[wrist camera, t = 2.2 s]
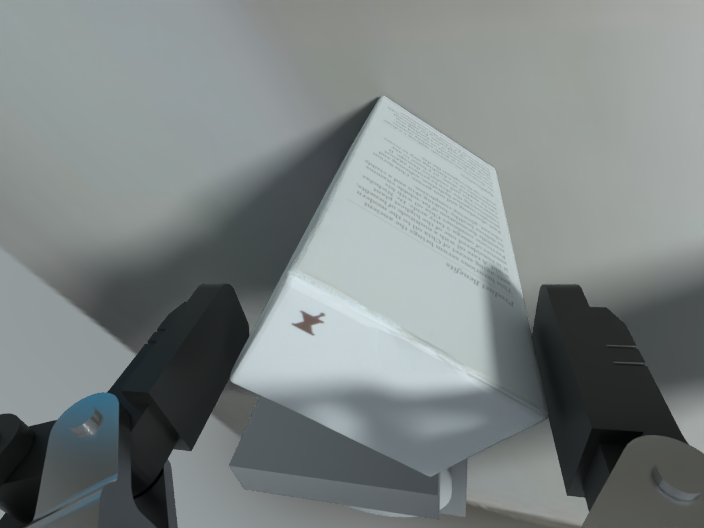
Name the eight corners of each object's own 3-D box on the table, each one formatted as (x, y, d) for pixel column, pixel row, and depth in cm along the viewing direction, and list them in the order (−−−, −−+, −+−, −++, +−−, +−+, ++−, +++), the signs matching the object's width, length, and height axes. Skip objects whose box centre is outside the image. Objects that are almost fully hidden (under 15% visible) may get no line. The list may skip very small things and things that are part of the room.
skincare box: (335, 172, 19) (216, 380, 9) (382, 91, 16) (283, 264, 7) (441, 236, 19) (430, 485, 10) (501, 169, 17) (562, 419, 8)
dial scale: (468, 336, 23) (475, 497, 16) (464, 477, 33) (467, 616, 26) (267, 327, 26) (200, 458, 19) (318, 459, 36) (285, 577, 29)
